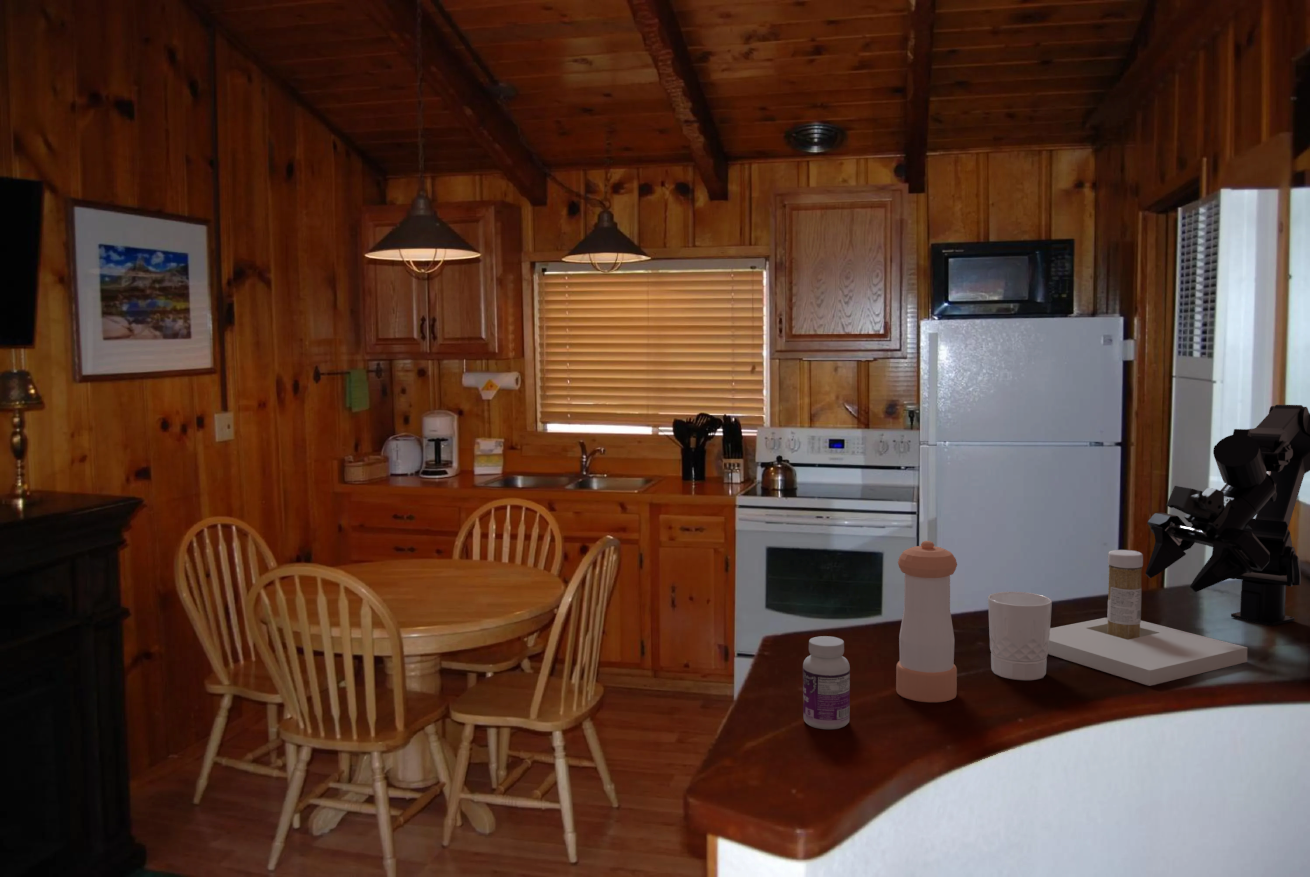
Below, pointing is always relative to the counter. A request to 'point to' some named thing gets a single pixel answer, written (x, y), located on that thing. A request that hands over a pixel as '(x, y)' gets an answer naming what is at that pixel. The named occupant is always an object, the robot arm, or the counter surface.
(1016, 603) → the white cup
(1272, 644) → the counter surface
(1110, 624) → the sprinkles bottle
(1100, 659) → the block
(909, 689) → the pepper shaker
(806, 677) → the pill bottle
